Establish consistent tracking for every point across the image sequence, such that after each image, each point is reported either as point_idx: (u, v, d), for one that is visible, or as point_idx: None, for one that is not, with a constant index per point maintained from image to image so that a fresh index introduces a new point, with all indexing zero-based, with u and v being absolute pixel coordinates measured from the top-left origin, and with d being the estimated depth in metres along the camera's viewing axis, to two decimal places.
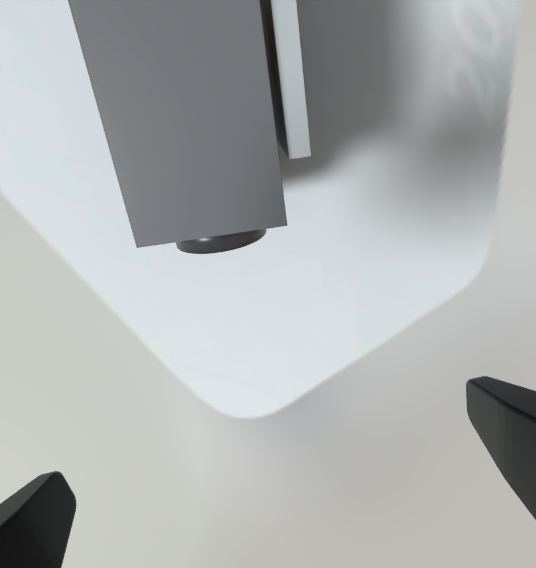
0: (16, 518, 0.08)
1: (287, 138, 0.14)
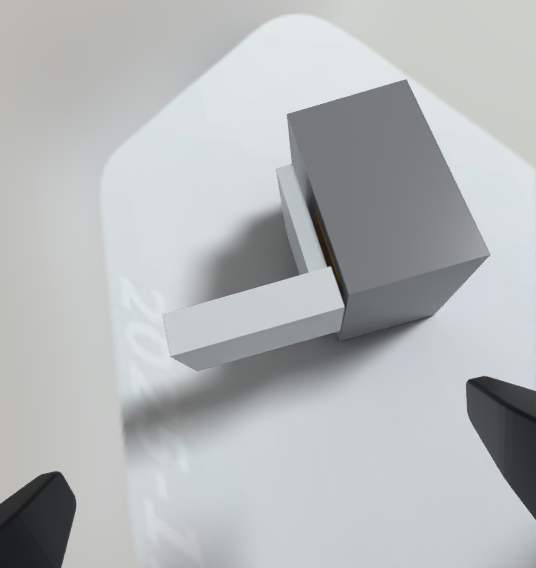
0: (16, 518, 0.08)
1: (296, 178, 0.18)
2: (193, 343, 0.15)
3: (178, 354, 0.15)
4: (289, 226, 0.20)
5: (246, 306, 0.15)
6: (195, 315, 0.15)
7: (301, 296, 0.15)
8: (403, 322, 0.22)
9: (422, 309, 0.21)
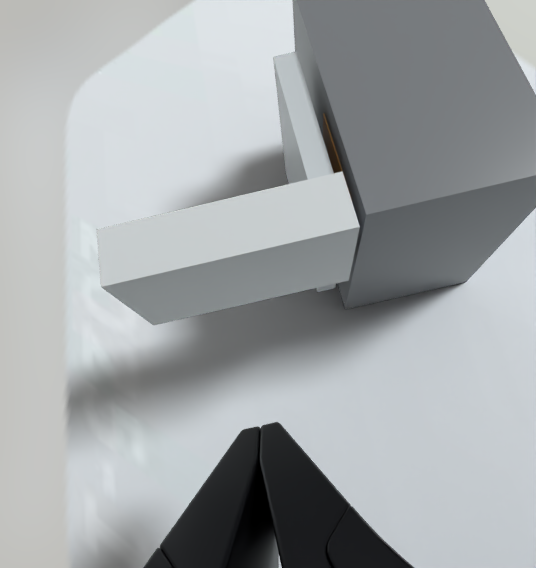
0: (257, 465, 0.08)
1: (300, 69, 0.13)
2: (135, 269, 0.10)
3: (114, 285, 0.10)
4: (288, 146, 0.15)
5: (217, 222, 0.10)
6: (143, 232, 0.10)
7: (297, 211, 0.10)
8: (427, 288, 0.18)
9: (455, 268, 0.16)
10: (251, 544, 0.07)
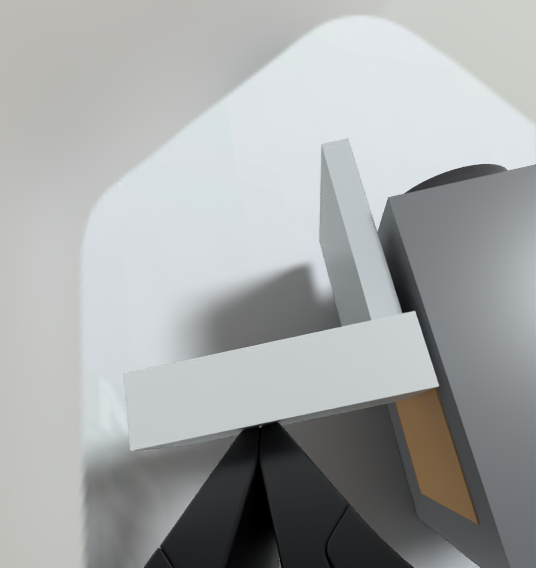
0: (257, 465, 0.08)
1: (353, 160, 0.11)
2: (171, 430, 0.09)
3: (145, 447, 0.09)
4: (331, 233, 0.13)
5: (267, 372, 0.09)
6: (179, 380, 0.09)
7: (363, 360, 0.09)
8: None
9: None
10: (251, 544, 0.07)
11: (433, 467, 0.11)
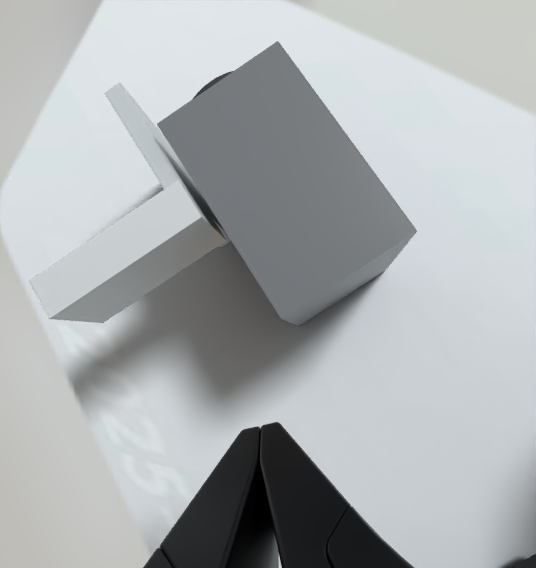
0: (257, 465, 0.08)
1: (128, 96, 0.16)
2: (67, 299, 0.14)
3: (57, 314, 0.14)
4: None
5: (107, 247, 0.14)
6: (61, 271, 0.15)
7: (157, 219, 0.14)
8: (356, 288, 0.21)
9: (370, 276, 0.20)
10: (251, 544, 0.07)
11: None
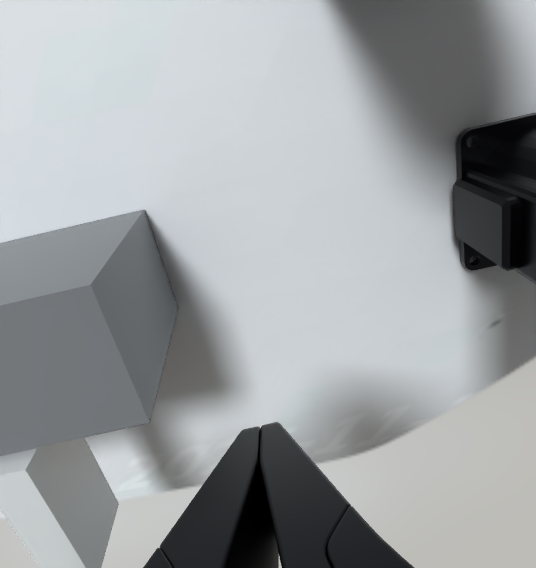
0: (257, 465, 0.08)
1: None
2: None
3: None
4: None
5: (39, 540, 0.15)
6: None
7: (20, 502, 0.15)
8: (155, 246, 0.20)
9: (143, 248, 0.18)
10: (251, 544, 0.07)
11: None
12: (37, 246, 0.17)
